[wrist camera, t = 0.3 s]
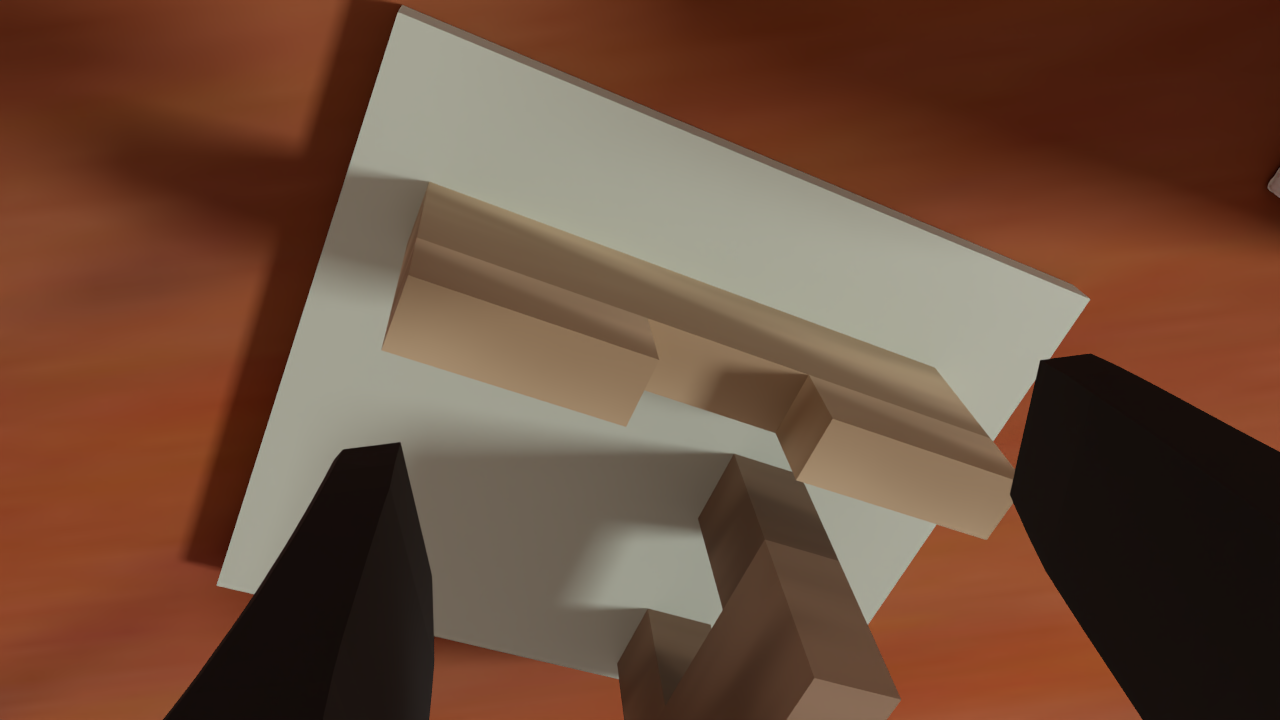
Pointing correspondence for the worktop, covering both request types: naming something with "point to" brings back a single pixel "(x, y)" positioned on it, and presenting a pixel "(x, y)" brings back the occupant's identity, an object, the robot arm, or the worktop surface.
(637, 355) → the wooden u-shaped block
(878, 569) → the board
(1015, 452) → the worktop surface
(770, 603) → the wooden c-clamp shape
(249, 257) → the worktop surface
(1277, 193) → the syrup box
